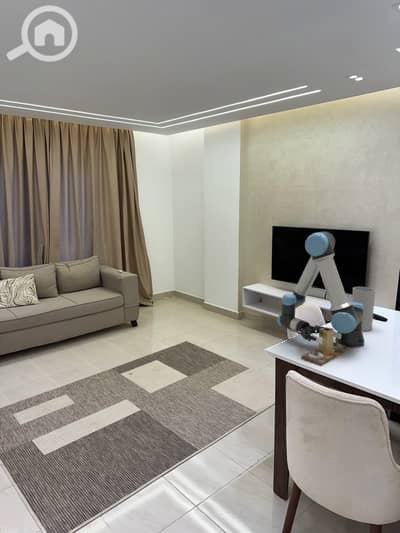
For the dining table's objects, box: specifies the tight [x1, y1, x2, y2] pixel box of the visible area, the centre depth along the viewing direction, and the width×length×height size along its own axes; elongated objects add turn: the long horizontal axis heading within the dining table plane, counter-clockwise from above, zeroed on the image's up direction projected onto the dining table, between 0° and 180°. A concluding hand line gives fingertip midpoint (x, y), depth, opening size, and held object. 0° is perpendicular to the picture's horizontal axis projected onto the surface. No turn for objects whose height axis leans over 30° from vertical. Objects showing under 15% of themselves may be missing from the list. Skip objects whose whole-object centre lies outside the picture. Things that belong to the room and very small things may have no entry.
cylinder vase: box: [351, 286, 376, 332], centre depth 229 cm, size 12×12×25 cm
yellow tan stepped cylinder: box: [316, 326, 335, 355], centre depth 189 cm, size 9×9×12 cm
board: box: [300, 340, 349, 367], centre depth 190 cm, size 28×11×8 cm, turn 133°
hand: (331, 338), depth 186 cm, fingers open, 13 cm apart
